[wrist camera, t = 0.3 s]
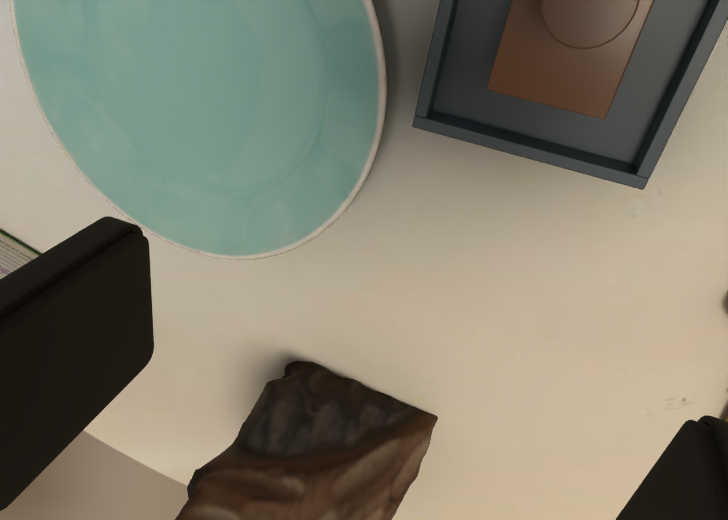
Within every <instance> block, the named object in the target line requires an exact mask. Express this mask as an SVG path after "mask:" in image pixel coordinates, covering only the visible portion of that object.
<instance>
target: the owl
mask: <svg viewBox="0 0 728 520" xmlns="http://www.w3.org/2000/svg"><path fill="white" fill-rule="evenodd" d="M437 419H438V418H437V417H436V416H434V415H432V414H429V413H426V412H423V411H421V410H419V409H417V408H415V407H412V406H409V405H407V404H404V403H402V402H399V401H397V400H396V399H394V398H392V397H390V396H388V395H386V394H382V393H379V392H375V391H373V390H370V389H368V388H366V387H364V386H363V385H362V384H361V383H359V382H357V381H355V380H352V379H348V378H342V377H338V376H336V375H334V374H332V373H331V372H330V371H329V370H327V369H326V368H324V367H322V366H320V365H317V364H315V363H312V362H298V361H295V362H291V363H289V364H287V365H286V367H285V375H284V376H283V378H282V379H276V380H272V381H270V382H267V384H266V386H265V388H264V390H263V392H262V394H261V395H260V397H259V399H258V401H257V403H256V404H255V406H254V408H253V410H252V411H251V413H250V415H249V416H248V418H247V419H246V421H245V422H244V423H243V425H242V427H241V429H240V431H239V433H238V436H237V438H236V439H235V441H234V442H233V444H232V445H231V446H230V447H228V448H227V449H226V450H225V451H224V452H223V453H221V454H220V455H219V456H217V457H216V458H214V459H213V460H211V461H210V462H208V463H207V464H205V465H204V466H203V467H201V468H200V469H196V470H195V472H194V474H193V477H192V479H191V481H190V483H189V485H188V487H187V491H188V497H189V499H188V501H187V503H186V504H185V505H184V506H183V508H182V510H181V511H180V513H179V515H178V516H177V518H176V519H175V520H392V518H393V516H394V515H395V513H396V511H397V509H398V507H399V505H400V503H401V501H402V500H403V498H404V495H405V494H406V492H407V491H408V488H409V486H410V485H411V484H412V482H413V481H414V480H415V479H416V477H417V476H418V472H419V468H420V464H421V461H422V459H423V457H424V456H425V454H426V452H427V449H428V447H429V444H430V439H431V434H432V430H433V427H434V425H435V423H436V422H437Z"/></svg>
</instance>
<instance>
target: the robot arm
mask: <svg viewBox="0 0 728 520" xmlns="http://www.w3.org/2000/svg"><path fill="white" fill-rule="evenodd" d="M153 350H154V339H153V318H152V298H151V277H150V257H149V243H148V240H147V238H146V237H144V236H143V233H142V230H141V229H140V227H138V226H137V225H134V224H131V223H128V222H125V221H122V220H119V219H116V218H113V217H104V218H101V219H99V220H98V221H96V222H94V223H93V224H91V225H89V226H88V227H86V228H84V229H83V230H81V231H79V232H78V233H76V234H74V235H73V236H71V237H70V238H68V239H66V240H65V241H63V242H61V243H60V244H58V245H56V246H55V247H53V248H51V249H50V250H48V251H46V252H45V253H43V254H41V255H40V256H38V257H36V258H35V259H33V260H31V261H30V262H28V263H26V264H25V265H23V266H21V267H20V268H18V269H16V270H15V271H13V272H11V273H10V274H8V275H6V276H5V277H3V278H2V279H0V511H1V510H3V509H5V508H6V507H7V506H8V505H9V504H11V503H12V502H13V501H14V499H16V498H17V496H19V495H20V493H21V492H23V491H24V490H25V488H26V487H27V486H28V485H29V484H30V483H31V482H32V481H33V480H34V479H35V478H36V477H37V476H38V475H39V474H40V473H41V472H42V471H43V470H44V469H45V468H46V467H47V466H48V465H49V464H50V463H51V462H52V461H53V460H54V459H55V458H56V457H57V456H58V455H59V454H60V453H61V452H62V451H63V450H64V449H65V448H66V447H67V446H68V445H69V444H70V443H71V442H72V441H73V440H74V439H75V438H76V437H77V436H78V435H79V433H80V432H81V431H83V430H84V428H85V427H86V426H87V425H88V424H89V423H90V422H91V421H92V420H93V419H94V418H95V417H96V416H97V415H98V414H99V413H100V412H101V411H102V410H103V409H104V408H105V407H106V406H107V405H108V404H109V403H110V402H111V401H112V400H113V399H114V398H115V397H116V396H117V395H118V394H119V393H120V392H121V391H122V390H123V389H124V388H125V387H126V386H127V385H128V384H129V383H130V382H131V381H132V380H133V379H134V378H135V377H136V376H137V375H138V374H139V373H140V372H141V371H142V369H143V368H144V367H145V366H146V365H147V364H148V362H149V361H150V359H151V357H152V354H153ZM616 520H728V422H727V421H724V420H721V419H718V418H715V417H712V416H703V417H702V418H700V419H699V420H698V421H694V420H688V421H686V422H685V423H684V424H683V426H682V427H681V428H680V430H679V431H678V433H677V434H676V435H675V437H674V438H673V440H672V441H671V442H670V444H669V445H668V447H667V448H666V449H665V451H664V452H663V454H662V455H661V456H660V458H659V459H658V461H657V462H656V464H655V465H654V466H653V468H652V469H651V471H650V472H649V473H648V475H647V476H646V478H645V479H644V480H643V482H642V483H641V485H640V486H639V487H638V489H637V490H636V492H635V493H634V494H633V496H632V497H631V499H630V500H629V501H628V503H627V504H626V506H625V507H624V508H623V510H622V511H621V513H620V514H619V515H618V517H617V518H616Z"/></svg>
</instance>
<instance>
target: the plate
mask: <svg viewBox="0 0 728 520" xmlns="http://www.w3.org/2000/svg"><path fill="white" fill-rule="evenodd" d="M10 7H11V16H12V22H13V28H14V34H15V39H16V44H17V48H18V53H19V56H20V60H21V63H22V66H23V70H24V73H25V76H26V79H27V81H28V84H29V87H30V89H31V92H32V94H33V97H34V99H35V101H36V103H37V106H38V108H39V110H40V112H41V114H42V116H43V118H44V120H45V122H46V123H47V125H48V127H49V129H50V130H51V132H52V134H53V136H54V137H55V139H56V141H57V142H58V144H59V145H60V147H61V148H62V150H63V151H64V153H65V154H66V156H67V157H68V158H69V160H70V161H71V162H72V163H73V165H74V166H75V167H76V169H77V170H78V171H79V172H80V174H81V175H82V176H83V177H84V178H85V179H86V181H87V182H88V183H89V184H90V185H91V186H92V187H93V188H94V189H95V190H96V191H97V192H98V193H99V194H100V195H101V196H102V197H103V198H104V199H105V200H106V201H107V202H108V203H110V204H111V205H112V206H113V207H114V208H116V209H117V210H118V211H119V212H121V213H122V214H123V215H125V216H126V217H127V218H128V219H130V220H131V221H133V222H134V223H135V224H137V225H138V226H140V227H141V228H143V229H145V230H146V231H148V232H150V233H151V234H153V235H155V236H157V237H158V238H160V239H162V240H164V241H166V242H168V243H171V244H173V245H176V246H178V247H181V248H183V249H186V250H189V251H192V252H195V253H199V254H203V255H206V256H212V257H217V258H224V259H238V260H240V259H259V258H265V257H270V256H274V255H278V254H281V253H284V252H287V251H290V250H292V249H295V248H297V247H299V246H301V245H303V244H305V243H307V242H308V241H310V240H312V239H313V238H315V237H316V236H318V235H319V234H321V233H322V232H323V231H324V230H326V229H327V228H328V227H329V226H330V225H331V224H332V223H334V222H335V221H336V220H337V219H338V218H339V217H340V215H341V214H342V213H343V212H344V211H345V210H346V209H347V207H348V206H349V205H350V204H351V202H352V201H353V199H354V198H355V196H356V195H357V194H358V192H359V190H360V189H361V187H362V185H363V184H364V182H365V180H366V178H367V176H368V174H369V171H370V169H371V167H372V164H373V161H374V159H375V156H376V153H377V150H378V147H379V144H380V140H381V136H382V131H383V126H384V119H385V108H386V98H387V76H386V62H385V55H384V48H383V41H382V37H381V32H380V27H379V23H378V19H377V16H376V12H375V9H374V5H373V2H372V0H10Z"/></svg>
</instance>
